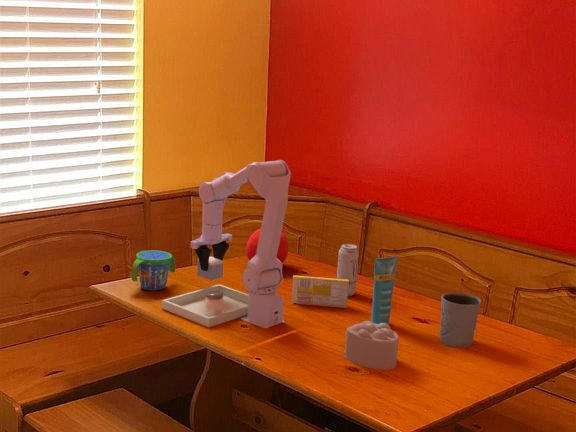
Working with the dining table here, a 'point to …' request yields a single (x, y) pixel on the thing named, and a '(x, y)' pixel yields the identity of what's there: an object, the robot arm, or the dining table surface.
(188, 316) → the white square tray
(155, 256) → the snack cup
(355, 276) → the energy drink can
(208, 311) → the jar
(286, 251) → the tomato
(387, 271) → the tube
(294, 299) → the candy box
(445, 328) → the grey tapered cup
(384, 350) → the lumpy-topped squat cylinder
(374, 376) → the dining table surface
